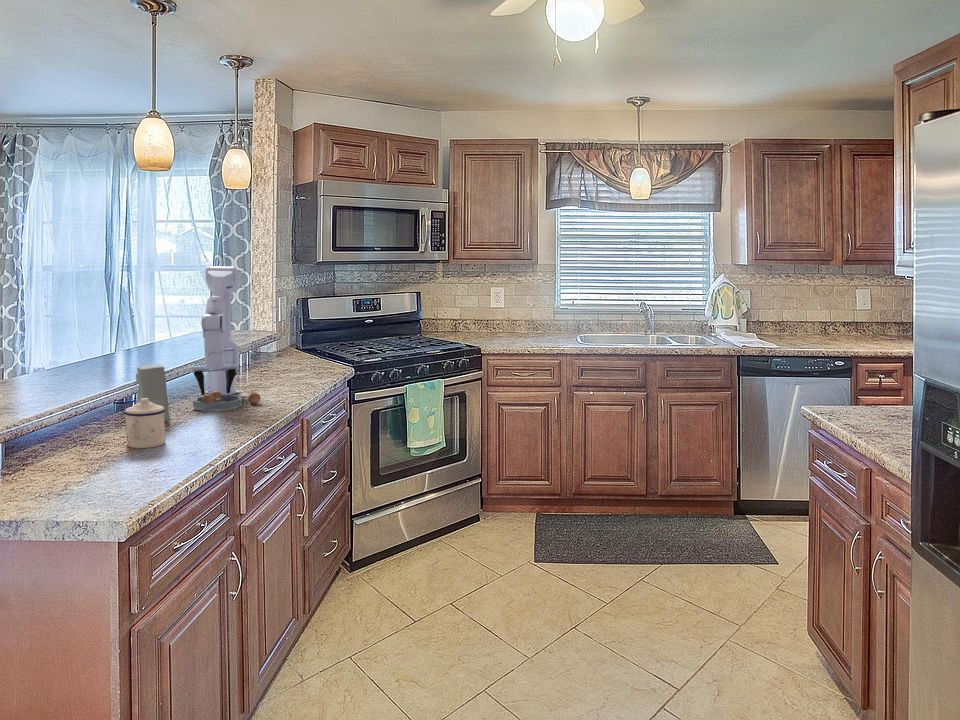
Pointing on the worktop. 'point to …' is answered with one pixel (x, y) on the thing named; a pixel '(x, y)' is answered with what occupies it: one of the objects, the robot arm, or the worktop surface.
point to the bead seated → (208, 398)
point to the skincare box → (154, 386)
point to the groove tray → (218, 403)
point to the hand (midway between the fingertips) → (215, 393)
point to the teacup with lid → (145, 425)
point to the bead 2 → (254, 398)
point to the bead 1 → (216, 394)
